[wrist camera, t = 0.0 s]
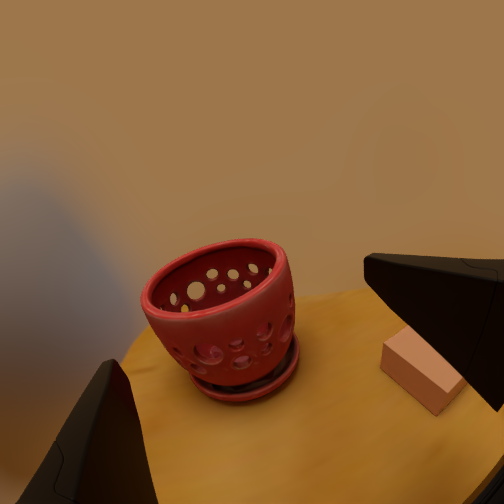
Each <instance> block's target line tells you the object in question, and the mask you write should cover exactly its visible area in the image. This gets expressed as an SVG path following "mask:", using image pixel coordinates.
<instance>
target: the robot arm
mask: <svg viewBox="0 0 504 504" xmlns="http://www.w3.org/2000/svg"><path fill="white" fill-rule="evenodd" d="M364 279H365V281H366V283H367V284H368V285H369V286H370V287H371V288H372V289H373V290H374V291H375V293H376V294H377V295H378V296H379V297H380V298H381V299H382V300H383V301H384V302H385V303H386V305H387V306H388V307H389V308H390V309H391V310H392V311H393V312H394V313H396V314H397V315H398V316H399V317H400V318H401V319H402V320H403V321H404V322H405V323H407V324H408V325H409V326H410V327H411V328H412V329H413V330H414V331H415V332H416V333H417V334H419V335H420V336H421V337H422V338H423V339H424V340H425V341H426V342H427V343H428V344H429V345H430V346H431V347H432V348H433V349H434V350H435V351H437V352H438V353H439V354H440V355H441V356H442V357H443V358H444V359H445V360H446V361H447V362H448V363H449V364H450V365H451V366H452V367H453V368H454V369H455V370H456V371H457V372H458V373H459V374H460V375H461V376H462V377H464V379H465V380H466V381H467V382H468V383H469V384H470V385H471V386H472V387H473V388H474V389H475V390H476V391H477V392H478V393H479V394H480V396H481V397H482V398H483V399H484V400H485V401H486V402H487V403H488V404H489V405H490V406H491V407H492V408H493V409H494V410H495V411H496V412H498V411H499V410H500V408H501V407H502V405H503V404H504V259H466V258H459V259H458V258H449V257H433V256H417V255H399V254H383V253H372V254H370V255H368V256H366V257H365V258H364ZM15 504H158V500H157V497H156V493H155V489H154V486H153V482H152V478H151V474H150V469H149V465H148V460H147V456H146V451H145V446H144V441H143V435H142V429H141V424H140V420H139V416H138V413H137V409H136V405H135V401H134V398H133V394H132V390H131V385H130V382H129V379H128V377H127V375H126V374H125V373H124V371H123V370H122V368H121V367H120V365H119V364H118V362H117V361H116V360H115V359H110V360H107V361H104V362H103V363H102V364H101V365H100V367H99V368H98V370H97V371H96V373H95V375H94V376H93V378H92V380H91V381H90V383H89V384H88V386H87V387H86V389H85V390H84V392H83V393H82V395H81V397H80V398H79V400H78V402H77V403H76V405H75V406H74V408H73V410H72V411H71V413H70V415H69V417H68V418H67V420H66V422H65V423H64V425H63V427H62V428H61V430H60V432H59V434H58V435H57V437H56V441H54V443H53V444H52V446H51V448H50V450H49V451H48V453H47V455H46V456H45V458H44V460H43V462H42V463H41V465H40V466H39V468H38V470H37V471H36V473H35V474H34V476H33V477H32V479H31V481H30V482H29V484H28V485H27V487H26V488H25V490H24V492H23V494H22V495H21V496H20V498H19V500H18V501H17V502H16V503H15ZM462 504H504V455H503V456H502V457H501V459H500V460H499V461H498V463H497V464H496V465H495V467H494V468H493V469H492V470H491V472H490V473H489V474H488V475H487V477H486V478H485V479H484V480H483V481H482V483H481V484H480V485H479V486H478V487H477V488H476V490H475V491H474V492H473V493H472V494H471V495H470V496H469V497H468V498H467V499H466V500H465V501H464V502H463V503H462Z"/></svg>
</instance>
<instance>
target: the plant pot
mask: <svg viewBox="0 0 504 504" xmlns="http://www.w3.org/2000/svg"><path fill="white" fill-rule="evenodd" d="M249 264H255V265H256V266H257V267H258V273H253V272H251V271H250V269H249V267H248V265H249ZM269 268H271V269H272V272H271V273H270V274H269ZM210 269H216V270H217V271H218V275H217V277H215V278H214V279H210V278H208V277H207V275H206V273H207V271H208V270H210ZM231 269H235V270H237V271H238V273H239V277H238V278H237V279H231V278H229V277H228V274H227V273H228V271H229V270H231ZM246 280H247V281H250V283H251V287H250V288H247V287H245V286H244V284H243V283H244V281H246ZM192 282H201V283H202V284H203V285H204V287H205V292H204V294H203V296H202V297H200V298H199V299H195V300H193V299H191V298H189V296H188V294H187V288H188V286H189V285H190V284H191V283H192ZM220 284H223V285H225V287H226V288H225V290H224V291H222V292H220V291H218V290H217V286H218V285H220ZM172 293H174V294H175V295H176V297H177V301H176V303H175V305H172V304H171V302H170V296H171V294H172ZM184 304H185V305H187V306H188V309H189V312H182V313H181V307H182V306H183V305H184ZM141 306H142V309H143V311H144V313H145V315H146V317H147V319H148V321H149V323H150V325H151V327H152V329H153V330H154V332H155V334H156V335H157V337H158V338H159V339H160V341H161V342H162V344H163V345H164V347H165V348H166V350H167V351H168V352H169V354H170V355H171V356H172V357H173V358H174V359H175V360H176V361H177V362H178V363H179V364H180V365H181V366H182V367H183V368H185V369H186V370H187V371H188V372H189V373H190V377H191V379H192V381H193V382H194V384H195V385H196V386H197V388H198V389H200V390H201V391H202V392H203V393H205V394H206V395H208V396H210V397H212V398H215V399H219V400H224V401H246V400H251V399H255V398H258V397H261V396H263V395H265V394H267V393H269V392H271V391H273V390H274V389H276V388H277V387H279V386H280V385H281V384H282V383H283V382H284V381H285V380H286V379H287V378H288V377H289V376H290V375H291V373H292V372H293V370H294V369H295V367H296V364H297V362H298V358H299V342H298V339H297V337H296V335H295V333H294V332H293V331H294V324H295V299H294V290H293V282H292V276H291V271H290V267H289V263H288V260H287V256H286V254H285V252H284V250H283V249H282V248H281V247H280V246H279V245H277V244H275V243H273V242H271V241H267V240H262V239H253V238H252V239H235V240H229V241H224V242H219V243H215V244H211V245H208V246H204V247H201V248H199V249H196V250H194V251H191V252H189V253H187V254H184V255H182V256H181V257H178V258H177V259H175V260H173V261H172V262H170V263H168V264H167V265H165V266H164V267H163V268H161V269H160V270H159V271H158V272H157V273H156V274H155V275H154V276H153V277H152V278H151V279H150V280H149V281H148V282H147V284H146V285H145V287H144V289H143V291H142V294H141ZM161 308H162V310H161Z"/></svg>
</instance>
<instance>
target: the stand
mask: <svg viewBox="0 0 504 504" xmlns="http://www.w3.org/2000/svg"><path fill="white" fill-rule="evenodd" d="M380 368H381V369H382V370H383V371H384V372H386V373H387V374H388V375H389V376H390V377H391V378H393V379H394V380H395V381H396V382H397V383H398V384H399V385H401V386H402V387H403V388H404V389H405V390H406V391H408V392H409V393H410V394H411V395H412V396H413V397H414V398H416V399H417V400H418V401H419V402H420V403H421V404H423V405H424V406H425V407H426V408H427V409H428V410H430V411H431V412H432V413H433V414H434V415H435V416H437V415H438V414H439V413H440V412H441V411H442V410H443V409H444V408H445V407H446V406H447V405H448V404H449V403H450V402H451V401H452V400H453V398H454V397H455V396H456V395H457V394H458V393H459V392H460V391H461V390H462V389H463V387H464V386H465V385H466V384H467V383H468V382H467V381H466V380H465V379H464V377H462V376H461V375H460V374H459V373H458V372H457V371H456V370H455V369H454V368H453V367H452V366H451V365H450V364H449V363H448V362H447V361H446V360H445V359H444V358H443V357H442V356H441V355H440V354H439V353H438V352H437V351H435V350H434V349H433V348H432V347H431V346H430V345H429V344H428V343H427V342H426V341H425V340H424V339H423V338H422V337H421V336H420V335H419V334H417V333H416V332H415V331H414V330H413V329H412V328H411V327H410V326H409V325H408V326H406V327H405V328H404V329H402V330H401V331H399V332H398V333H397V334H395V335H394V336H392V337H391V338H390V339H388V340H387V341H385V342H384V343H383V351H382V358H381V365H380Z"/></svg>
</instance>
